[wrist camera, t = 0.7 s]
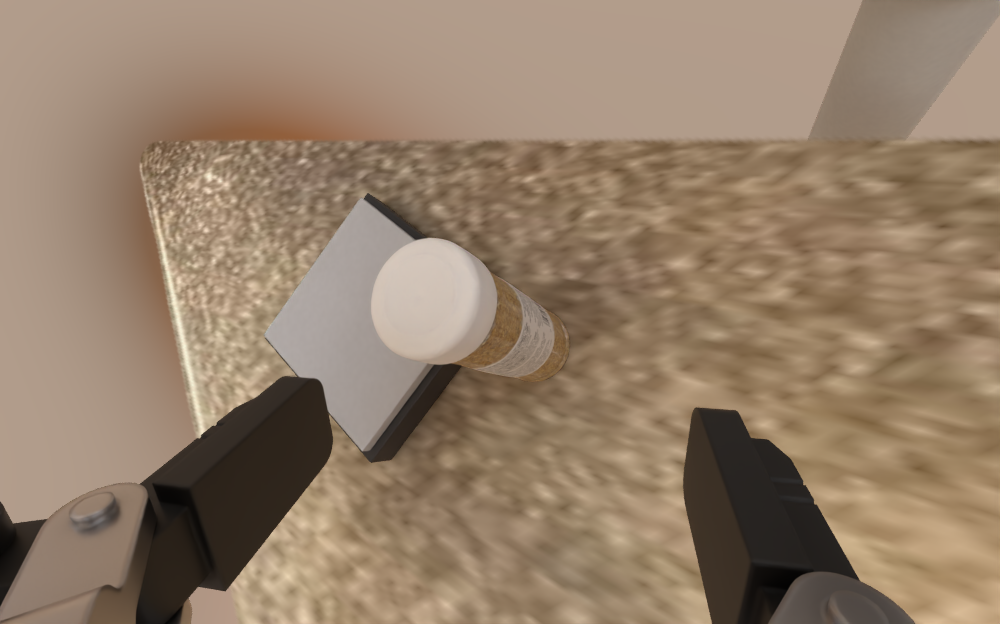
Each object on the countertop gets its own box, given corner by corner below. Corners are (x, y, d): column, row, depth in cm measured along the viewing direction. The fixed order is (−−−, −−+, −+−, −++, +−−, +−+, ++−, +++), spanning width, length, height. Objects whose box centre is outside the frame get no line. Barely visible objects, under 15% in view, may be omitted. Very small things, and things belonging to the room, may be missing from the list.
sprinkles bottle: (490, 329, 30) (352, 272, 18) (553, 296, 29) (450, 210, 17) (518, 396, 29) (385, 381, 17) (585, 363, 28) (496, 322, 15)
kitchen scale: (382, 202, 36) (356, 184, 33) (509, 301, 30) (491, 290, 28) (285, 339, 37) (252, 333, 34) (391, 460, 31) (362, 464, 29)
